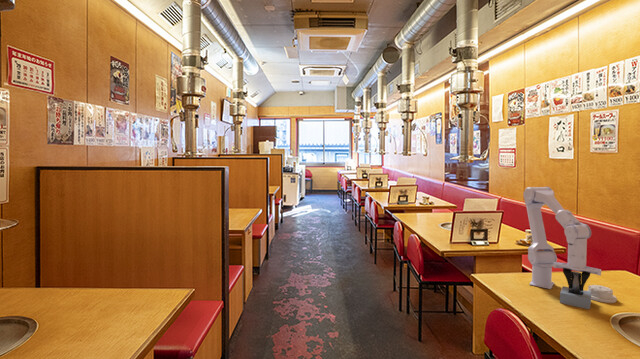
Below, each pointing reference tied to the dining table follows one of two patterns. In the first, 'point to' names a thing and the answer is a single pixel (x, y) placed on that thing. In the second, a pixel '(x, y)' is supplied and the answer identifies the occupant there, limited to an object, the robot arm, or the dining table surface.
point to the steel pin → (576, 283)
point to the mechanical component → (602, 294)
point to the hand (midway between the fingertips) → (575, 289)
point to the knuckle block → (575, 298)
